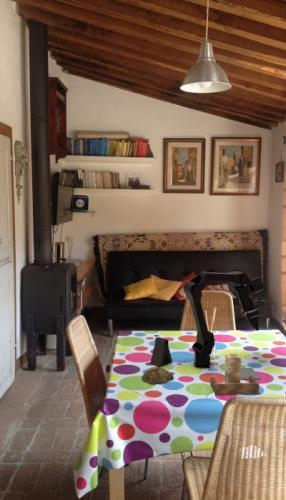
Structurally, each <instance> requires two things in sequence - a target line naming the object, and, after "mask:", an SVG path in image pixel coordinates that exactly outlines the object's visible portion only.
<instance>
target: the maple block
mask: <svg viewBox="0 0 286 500" xmlns="http://www.w3.org/2000/svg"><path fill="white" fill-rule="evenodd" d="M224 354H225V355H224V357H225V358H224V359H225V363H224V364H225V365H224V367H225V368H224V383H241V380H240V378H241V368H242V357H241V356H240V355H239V353H238V352H237V353H224Z"/></svg>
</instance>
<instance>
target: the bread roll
mask: <svg viewBox="0 0 286 500" xmlns="http://www.w3.org/2000/svg"><path fill="white" fill-rule="evenodd" d="M174 379H175V378H174V375H173V373H172V372H171V371H169V370H167V369H165V368H163V367H157V366H153V367H150V368H148V369H147V370H145V372H144V373H143V374H142V376H141V380H142V382H147V383H148V384H149V385H154V386H155V385H165V384H168V383H169V382H172V381H173V380H174Z"/></svg>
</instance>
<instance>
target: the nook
mask: <svg viewBox="0 0 286 500" xmlns="http://www.w3.org/2000/svg"><path fill="white" fill-rule="evenodd" d="M209 386H210V387H211V389H212V391H213V393H214V395H219V396H220V395H256V394H260V382H258V381H257V379H254V378H253V377H252V376H249V379H248V382H240V383H225V382H220V383H218V382H217V380H216V379H215V377H214V376H210V385H209Z"/></svg>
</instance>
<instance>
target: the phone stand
mask: <svg viewBox="0 0 286 500" xmlns="http://www.w3.org/2000/svg"><path fill="white" fill-rule="evenodd" d="M149 363H150V364H149V365H152V366H154V367H159V368H163V367H165V366H167V365H171V364H173V363H174V361H173V358H172V355H171V350H170V346H169V340H168V339H167V338H163V337H160V336H156V337H155V339H154V347H153V350H152V354H151V358H150V362H149Z"/></svg>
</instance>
